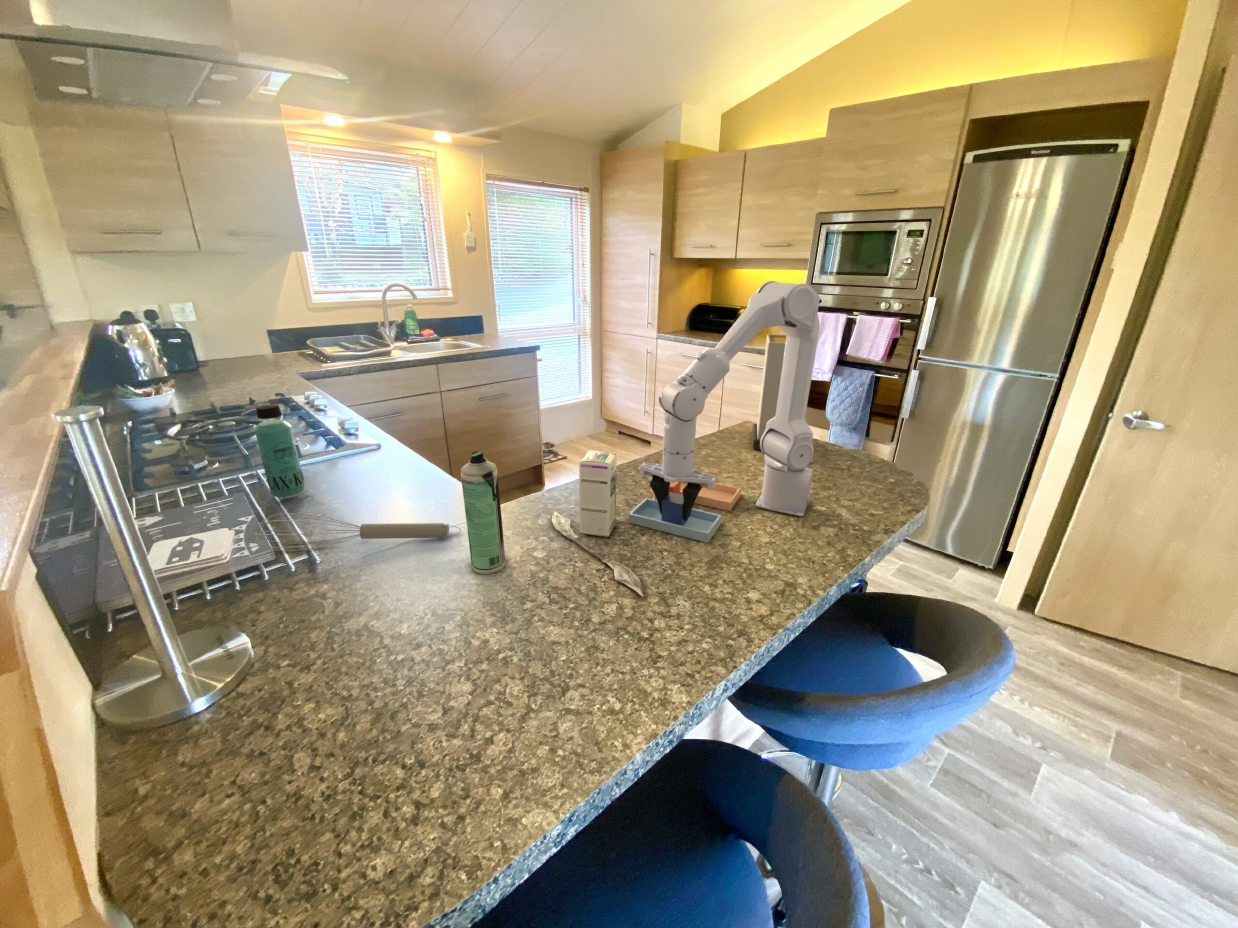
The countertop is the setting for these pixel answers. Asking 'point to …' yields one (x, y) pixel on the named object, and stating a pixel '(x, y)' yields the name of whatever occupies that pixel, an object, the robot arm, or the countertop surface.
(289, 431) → the beverage bottle
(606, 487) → the syrup box
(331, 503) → the countertop surface
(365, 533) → the kitchen whisk
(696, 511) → the blue tray
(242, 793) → the countertop surface
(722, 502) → the peach tray
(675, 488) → the terracotta block
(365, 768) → the countertop surface
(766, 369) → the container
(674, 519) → the blue block
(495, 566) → the spray can
